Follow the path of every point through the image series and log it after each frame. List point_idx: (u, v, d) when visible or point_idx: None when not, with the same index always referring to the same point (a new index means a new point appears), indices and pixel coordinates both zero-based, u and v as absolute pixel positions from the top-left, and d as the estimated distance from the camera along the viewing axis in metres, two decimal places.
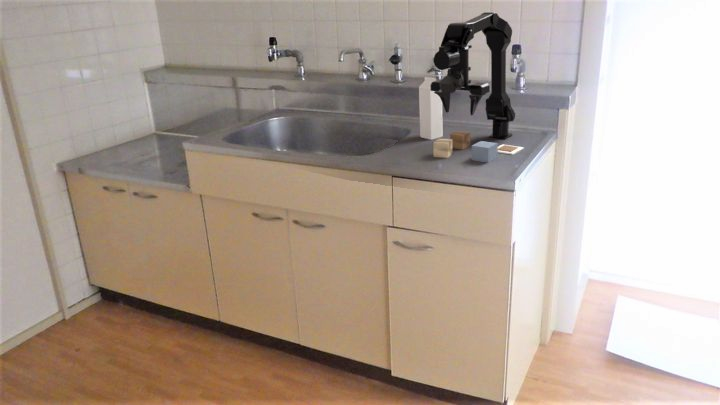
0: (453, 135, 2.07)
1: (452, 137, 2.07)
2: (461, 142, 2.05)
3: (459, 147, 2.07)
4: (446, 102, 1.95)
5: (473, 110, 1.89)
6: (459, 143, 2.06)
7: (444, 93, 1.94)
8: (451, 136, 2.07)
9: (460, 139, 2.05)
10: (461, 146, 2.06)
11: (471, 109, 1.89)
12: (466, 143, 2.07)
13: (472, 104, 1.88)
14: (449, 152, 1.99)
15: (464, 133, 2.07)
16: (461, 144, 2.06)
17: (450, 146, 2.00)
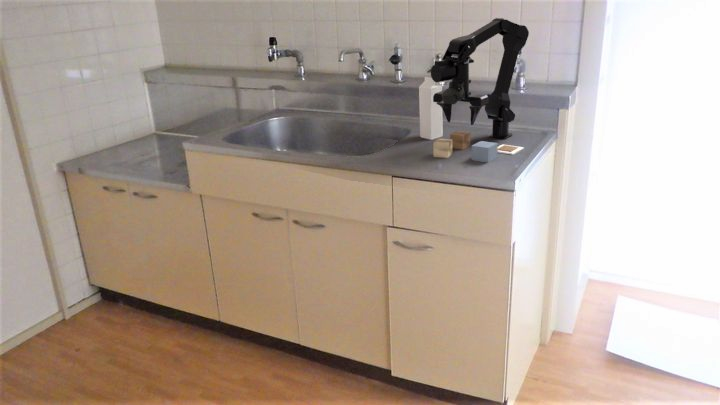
0: (453, 135, 2.07)
1: (452, 137, 2.07)
2: (461, 142, 2.05)
3: (459, 147, 2.07)
4: (448, 112, 2.08)
5: (473, 120, 2.02)
6: (459, 143, 2.06)
7: (446, 104, 2.07)
8: (451, 136, 2.07)
9: (460, 139, 2.05)
10: (461, 146, 2.06)
11: (471, 119, 2.02)
12: (466, 143, 2.07)
13: (472, 114, 2.01)
14: (449, 152, 1.99)
15: (464, 133, 2.07)
16: (461, 144, 2.06)
17: (450, 146, 2.00)
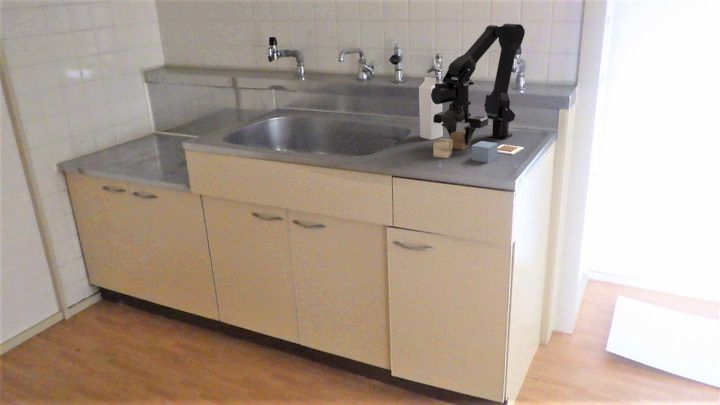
0: (453, 135, 2.07)
1: (452, 137, 2.07)
2: (461, 142, 2.05)
3: (459, 147, 2.07)
4: None
5: (468, 140, 2.06)
6: (459, 143, 2.06)
7: (451, 125, 2.08)
8: (451, 136, 2.07)
9: (460, 139, 2.05)
10: (461, 146, 2.06)
11: (466, 139, 2.06)
12: None
13: (467, 135, 2.05)
14: (449, 152, 1.99)
15: (464, 133, 2.07)
16: (461, 144, 2.06)
17: (450, 146, 2.00)
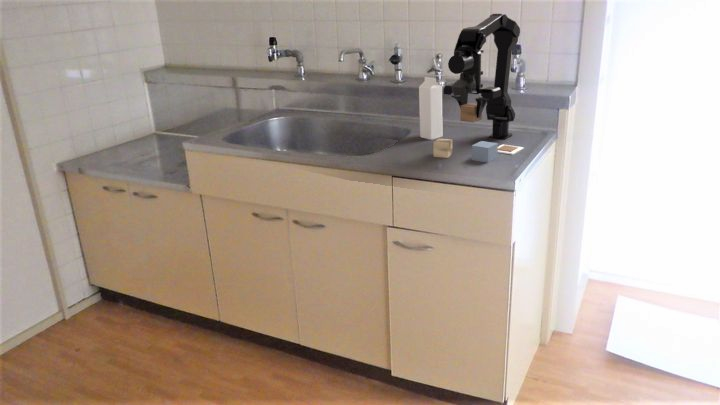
0: (464, 107, 1.95)
1: (462, 109, 1.96)
2: (472, 114, 1.94)
3: (470, 120, 1.95)
4: None
5: (479, 113, 1.95)
6: (470, 115, 1.95)
7: (461, 97, 1.97)
8: (461, 108, 1.96)
9: (471, 111, 1.94)
10: (472, 118, 1.94)
11: (477, 112, 1.94)
12: None
13: (478, 107, 1.93)
14: (449, 152, 1.99)
15: (475, 105, 1.95)
16: (472, 116, 1.94)
17: (450, 146, 2.00)
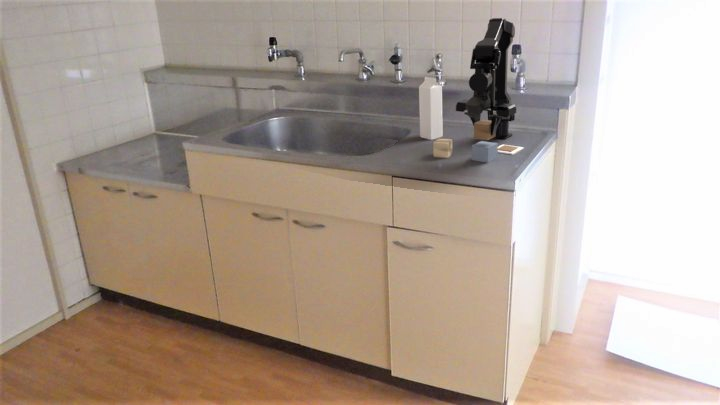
0: (477, 124, 1.90)
1: (476, 126, 1.90)
2: (486, 132, 1.89)
3: (484, 137, 1.90)
4: None
5: (494, 130, 1.89)
6: (484, 133, 1.89)
7: (475, 114, 1.91)
8: (475, 125, 1.90)
9: (486, 129, 1.88)
10: (486, 136, 1.89)
11: (492, 129, 1.89)
12: None
13: (493, 124, 1.88)
14: (449, 152, 1.99)
15: (489, 122, 1.90)
16: (486, 134, 1.89)
17: (450, 146, 2.00)
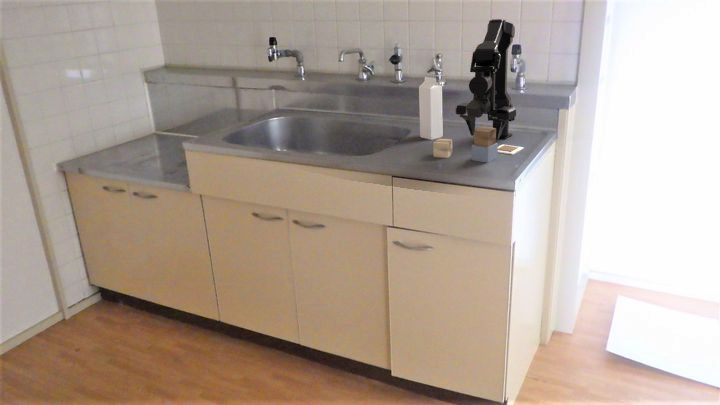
0: (478, 131, 1.91)
1: (476, 133, 1.91)
2: (486, 139, 1.89)
3: (484, 144, 1.91)
4: (471, 125, 1.94)
5: (499, 134, 1.89)
6: (484, 140, 1.90)
7: (470, 116, 1.93)
8: (475, 132, 1.91)
9: (486, 136, 1.89)
10: (486, 143, 1.90)
11: (497, 133, 1.88)
12: (491, 140, 1.91)
13: (498, 128, 1.87)
14: (449, 152, 1.99)
15: (489, 129, 1.91)
16: (486, 141, 1.90)
17: (450, 146, 2.00)
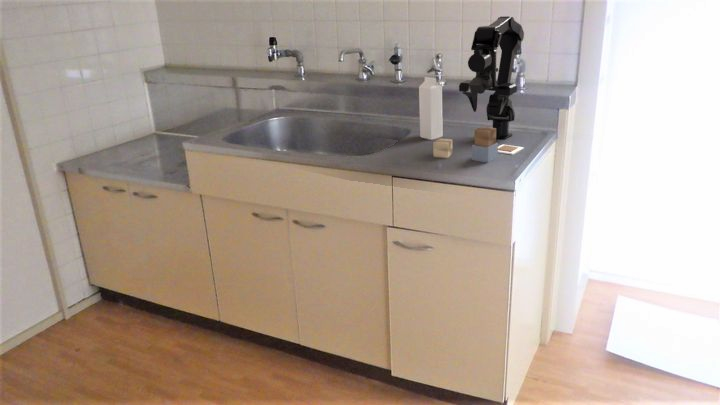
0: (478, 131, 1.91)
1: (477, 133, 1.91)
2: (487, 139, 1.89)
3: (484, 144, 1.91)
4: (474, 102, 2.03)
5: (501, 109, 1.98)
6: (484, 140, 1.90)
7: (472, 93, 2.02)
8: (476, 132, 1.91)
9: (486, 136, 1.89)
10: (487, 143, 1.90)
11: (499, 109, 1.97)
12: (492, 140, 1.91)
13: (500, 104, 1.96)
14: (449, 152, 1.99)
15: (490, 129, 1.91)
16: (487, 141, 1.90)
17: (450, 146, 2.00)
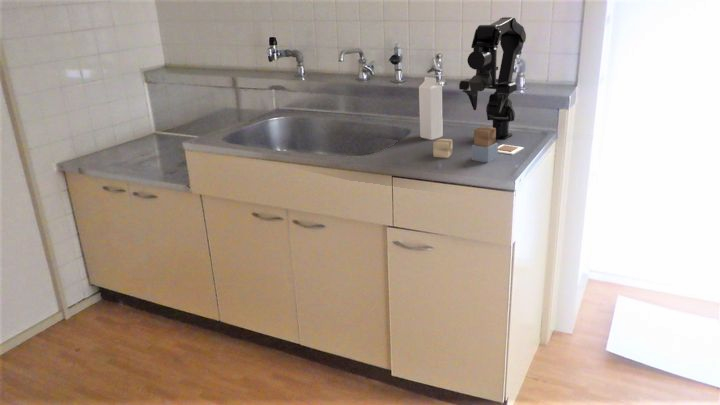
0: (478, 131, 1.91)
1: (476, 133, 1.91)
2: (486, 139, 1.90)
3: (484, 144, 1.91)
4: (474, 100, 2.04)
5: (500, 108, 1.99)
6: (484, 140, 1.90)
7: (472, 91, 2.03)
8: (475, 132, 1.91)
9: (486, 135, 1.89)
10: (486, 143, 1.90)
11: (498, 107, 1.98)
12: (491, 139, 1.91)
13: (500, 102, 1.97)
14: (449, 152, 1.99)
15: (489, 129, 1.91)
16: (486, 141, 1.90)
17: (450, 146, 2.00)
